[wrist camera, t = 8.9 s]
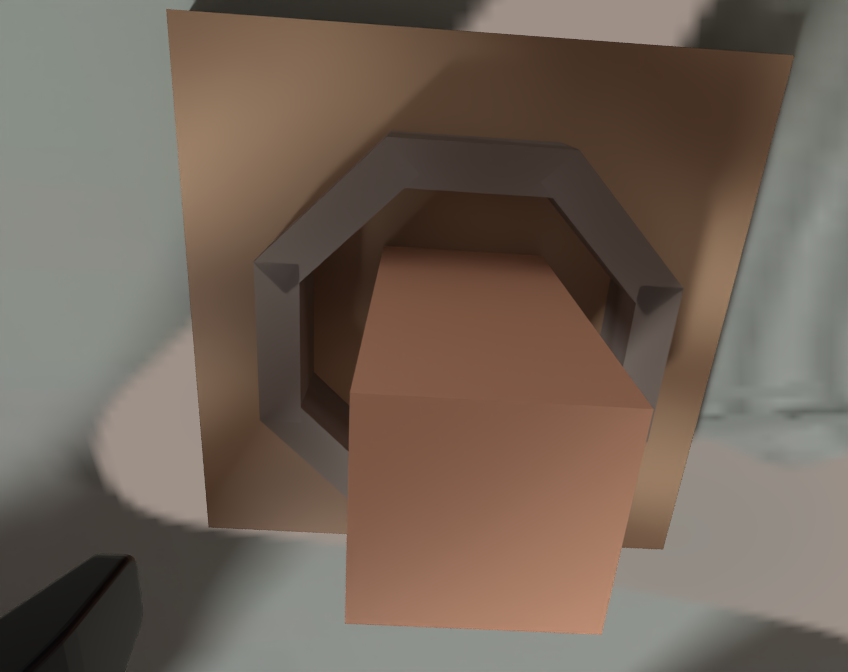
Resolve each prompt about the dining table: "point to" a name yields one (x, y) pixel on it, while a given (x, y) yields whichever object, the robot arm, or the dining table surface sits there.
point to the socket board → (446, 220)
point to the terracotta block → (486, 450)
